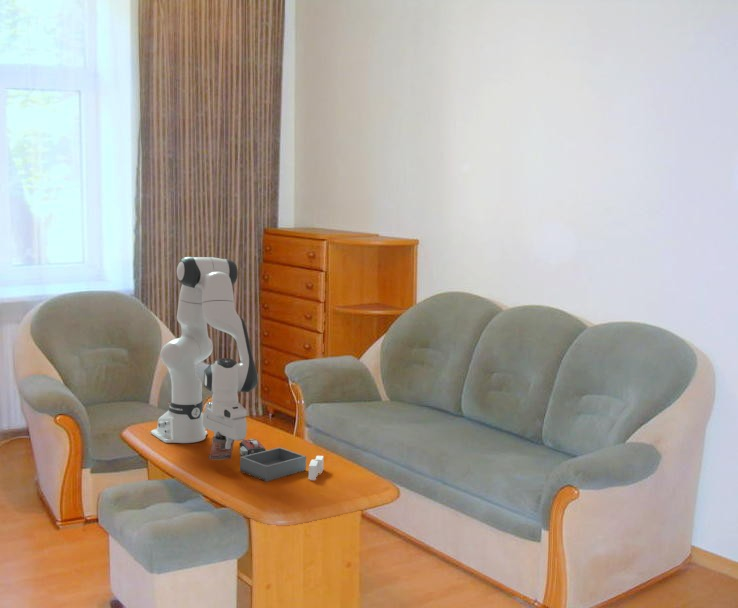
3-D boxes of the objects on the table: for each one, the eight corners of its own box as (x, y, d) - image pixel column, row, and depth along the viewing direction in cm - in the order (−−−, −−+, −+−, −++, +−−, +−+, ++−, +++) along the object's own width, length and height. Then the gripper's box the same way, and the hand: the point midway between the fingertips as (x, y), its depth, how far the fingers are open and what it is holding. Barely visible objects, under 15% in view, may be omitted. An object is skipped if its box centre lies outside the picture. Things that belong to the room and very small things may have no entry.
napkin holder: (313, 484, 292) (313, 468, 292) (289, 476, 300) (290, 459, 299) (345, 475, 303) (345, 458, 303) (321, 467, 311) (322, 451, 310)
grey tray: (239, 471, 302) (240, 456, 301) (279, 460, 314) (279, 447, 314) (266, 481, 292) (266, 466, 292) (305, 470, 305) (306, 456, 304)
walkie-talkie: (233, 447, 329) (247, 464, 310) (234, 436, 328) (247, 452, 310) (257, 446, 332) (271, 462, 314) (257, 434, 332) (272, 450, 313)
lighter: (210, 460, 301) (215, 434, 298) (207, 455, 304) (212, 429, 301) (232, 458, 305) (238, 433, 302) (229, 453, 308) (234, 428, 305)
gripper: (198, 401, 305) (197, 440, 307) (235, 415, 291) (233, 456, 293) (213, 399, 310) (212, 437, 312) (250, 412, 296) (249, 452, 298)
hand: (223, 446), depth 302 cm, fingers closed on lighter, 3 cm apart
